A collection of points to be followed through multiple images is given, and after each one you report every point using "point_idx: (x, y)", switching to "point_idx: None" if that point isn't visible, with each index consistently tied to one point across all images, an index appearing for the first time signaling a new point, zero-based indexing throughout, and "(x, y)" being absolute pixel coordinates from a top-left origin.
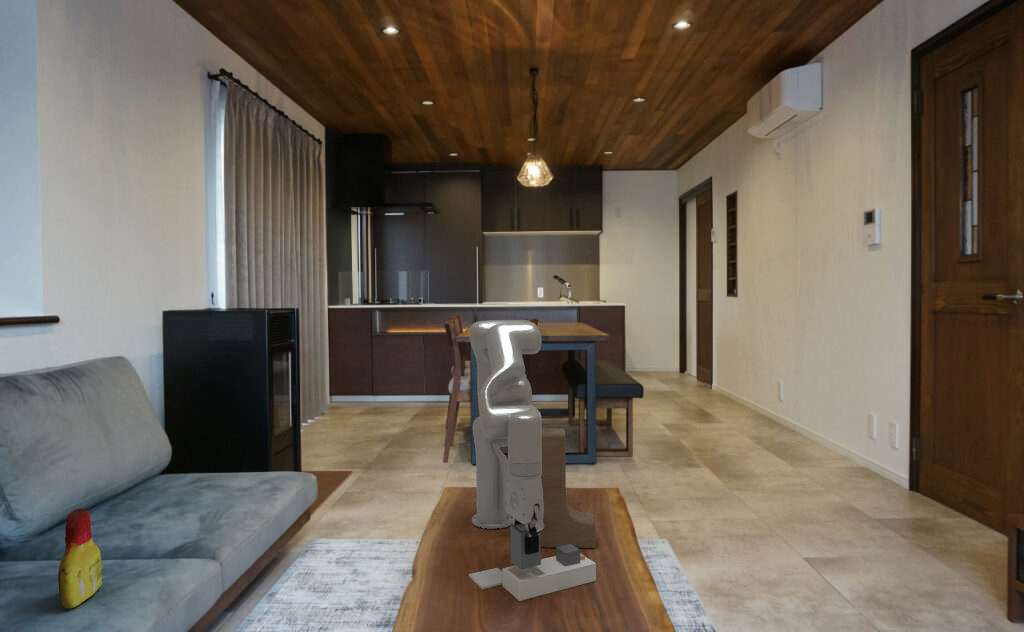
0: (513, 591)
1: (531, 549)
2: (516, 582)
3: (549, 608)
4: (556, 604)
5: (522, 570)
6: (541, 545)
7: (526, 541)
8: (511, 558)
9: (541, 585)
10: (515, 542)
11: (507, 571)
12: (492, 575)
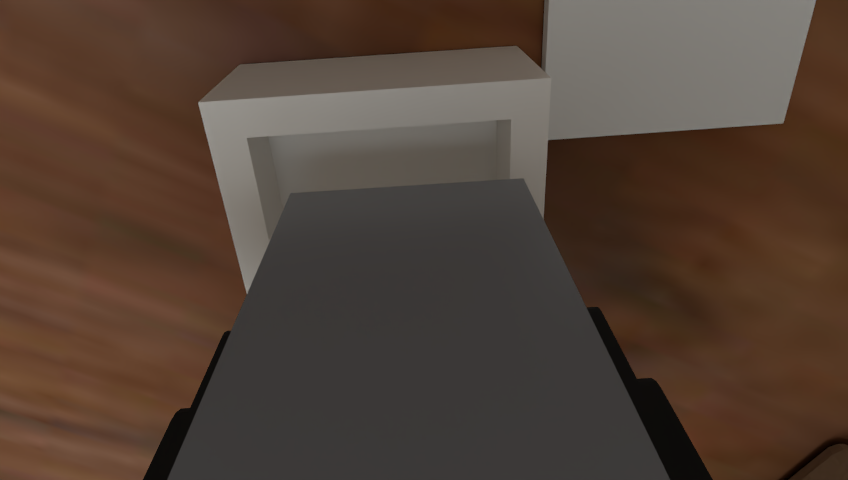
0: (327, 64)
1: (174, 422)
2: (255, 93)
3: (87, 205)
4: (131, 261)
5: None
6: (828, 460)
7: (166, 473)
8: (511, 192)
9: None
10: (414, 333)
11: (464, 96)
12: (694, 32)
